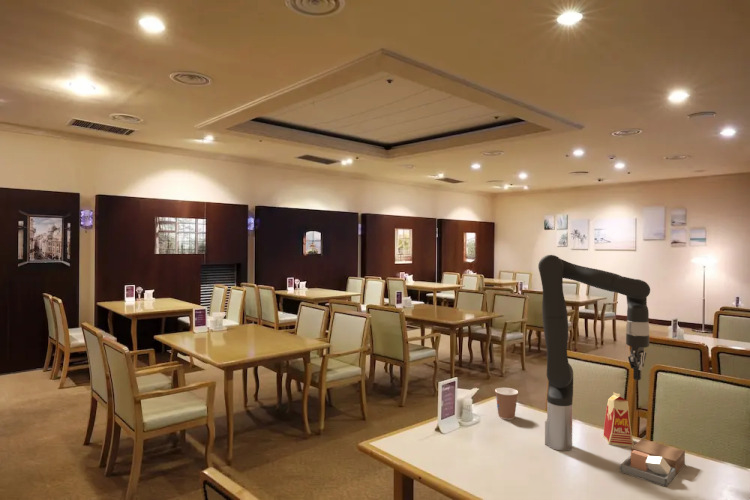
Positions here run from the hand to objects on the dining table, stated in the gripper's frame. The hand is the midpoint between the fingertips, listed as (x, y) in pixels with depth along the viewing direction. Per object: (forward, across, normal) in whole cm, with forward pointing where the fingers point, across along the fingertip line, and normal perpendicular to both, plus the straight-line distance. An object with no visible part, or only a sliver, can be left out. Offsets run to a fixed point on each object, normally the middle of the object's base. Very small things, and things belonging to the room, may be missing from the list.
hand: (637, 379), depth 174 cm
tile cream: (+24, +10, +10) cm, 28 cm away
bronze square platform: (+29, 0, +7) cm, 30 cm away
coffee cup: (+29, -1, -55) cm, 62 cm away
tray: (+29, +12, +7) cm, 32 cm away
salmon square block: (+26, +8, +4) cm, 28 cm away
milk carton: (+29, -10, -10) cm, 32 cm away
